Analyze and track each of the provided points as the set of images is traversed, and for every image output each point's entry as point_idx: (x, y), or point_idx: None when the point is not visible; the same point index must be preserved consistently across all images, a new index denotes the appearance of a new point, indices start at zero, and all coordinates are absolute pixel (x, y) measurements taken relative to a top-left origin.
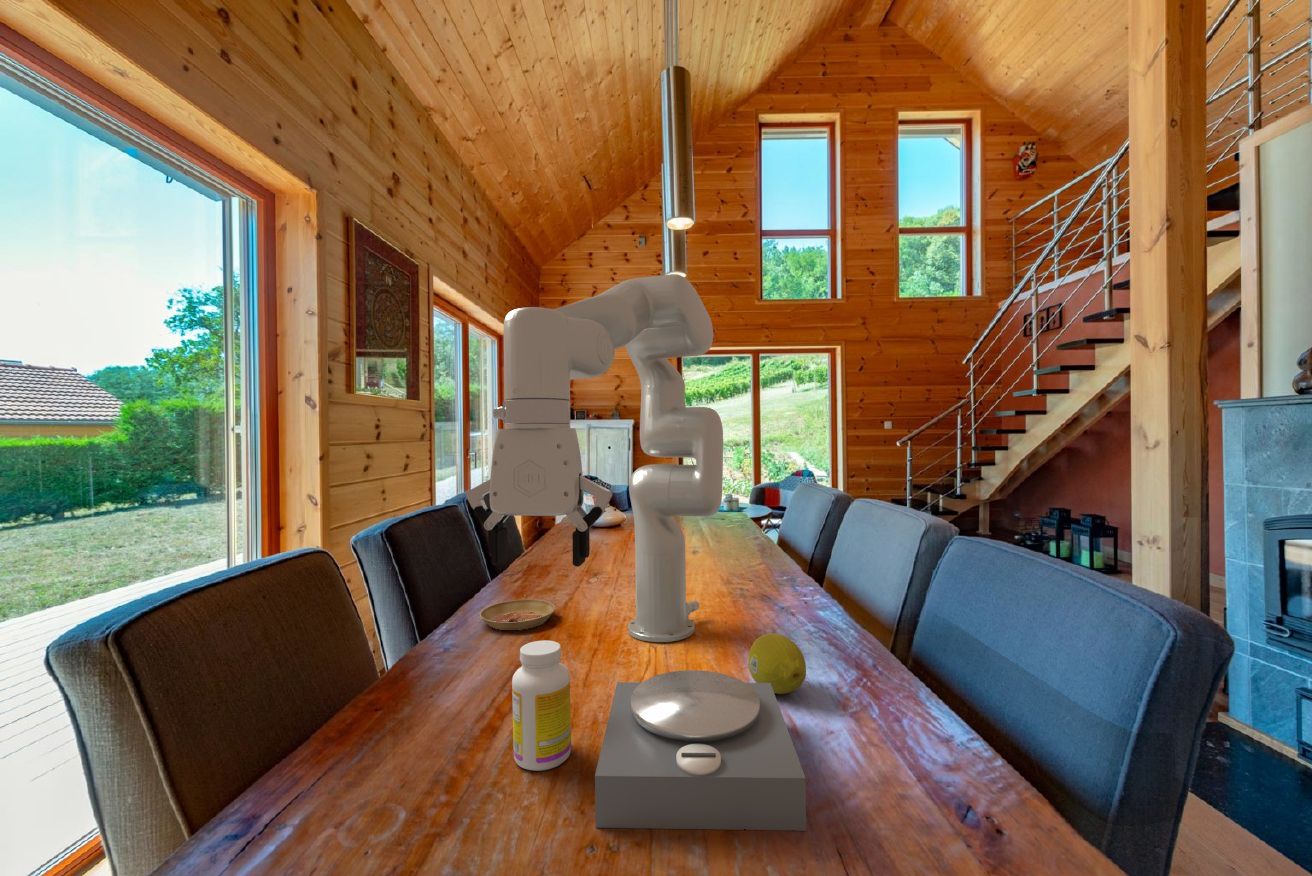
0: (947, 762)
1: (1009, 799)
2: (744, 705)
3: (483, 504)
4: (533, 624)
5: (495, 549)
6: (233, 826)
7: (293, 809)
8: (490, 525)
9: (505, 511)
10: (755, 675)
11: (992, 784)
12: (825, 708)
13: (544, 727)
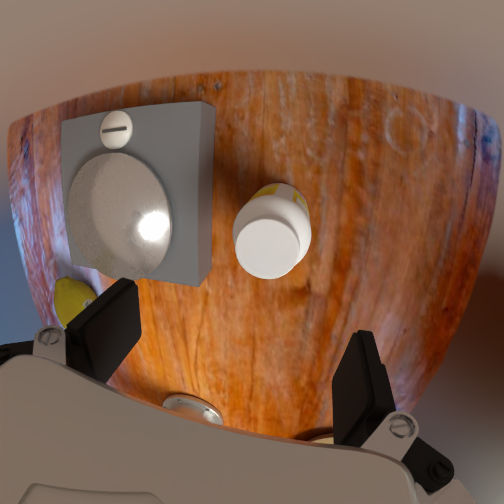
0: (23, 197)
1: (13, 165)
2: (76, 202)
3: (420, 501)
4: (315, 437)
5: (367, 357)
6: (491, 151)
7: (467, 162)
8: (395, 427)
9: (336, 454)
10: (92, 299)
11: (14, 177)
12: (64, 265)
13: (266, 189)
